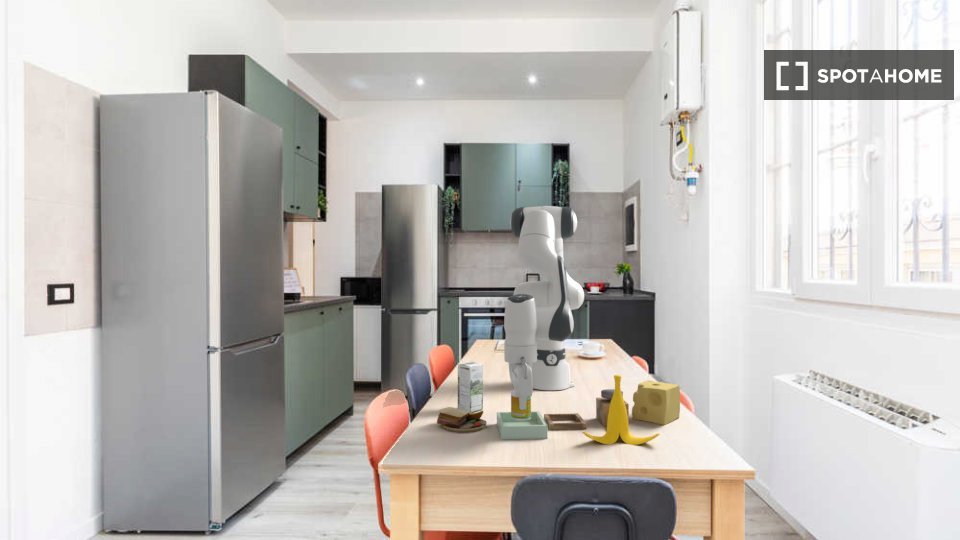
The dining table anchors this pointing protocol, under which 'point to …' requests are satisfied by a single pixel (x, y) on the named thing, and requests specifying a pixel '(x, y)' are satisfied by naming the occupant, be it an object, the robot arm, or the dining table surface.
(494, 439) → the dining table surface
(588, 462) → the dining table surface
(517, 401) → the supplement bottle
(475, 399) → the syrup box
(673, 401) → the cheese
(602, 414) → the tan square block
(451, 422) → the toy sandwich meal
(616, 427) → the banana peel
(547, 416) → the brown wooden frame
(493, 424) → the dining table surface
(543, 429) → the tray
